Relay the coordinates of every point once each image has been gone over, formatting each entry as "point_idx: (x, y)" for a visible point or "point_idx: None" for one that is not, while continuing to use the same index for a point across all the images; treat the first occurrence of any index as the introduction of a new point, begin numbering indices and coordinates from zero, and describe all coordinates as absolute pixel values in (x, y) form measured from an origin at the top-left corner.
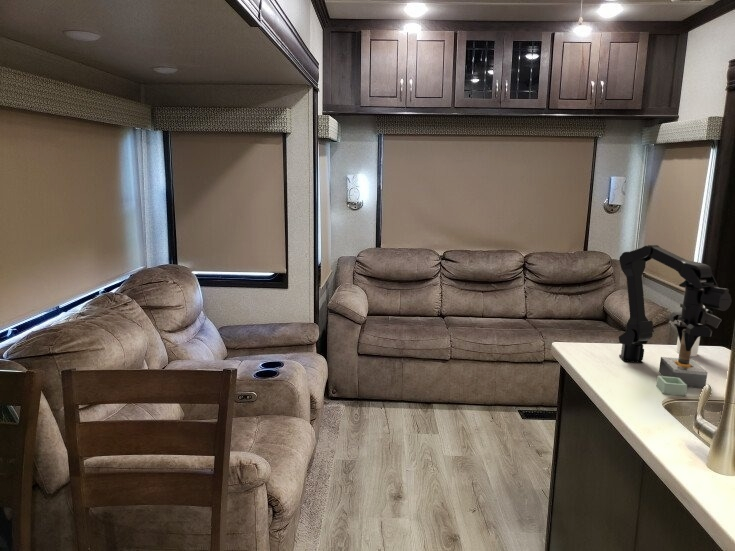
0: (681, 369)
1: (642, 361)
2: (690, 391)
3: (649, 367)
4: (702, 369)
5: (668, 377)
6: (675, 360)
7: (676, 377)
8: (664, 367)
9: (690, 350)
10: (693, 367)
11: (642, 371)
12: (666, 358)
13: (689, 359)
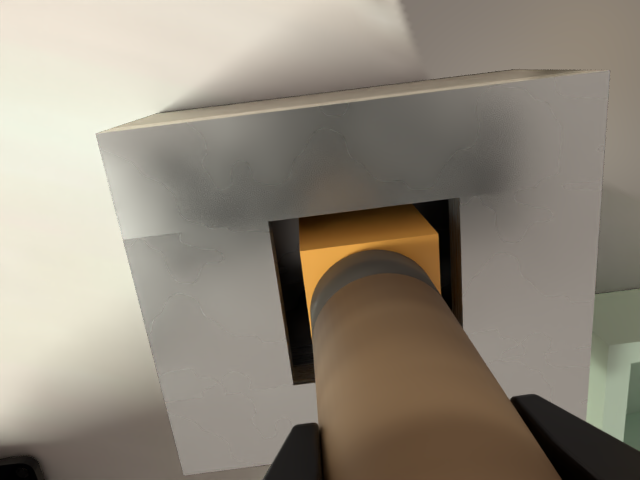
0: (576, 356)
1: (18, 464)
2: (609, 216)
3: (116, 416)
4: (512, 110)
5: (623, 428)
6: (256, 356)
7: (608, 366)
8: None
9: (489, 374)
10: (464, 208)
11: (251, 474)
12: (220, 433)
13: (426, 283)
